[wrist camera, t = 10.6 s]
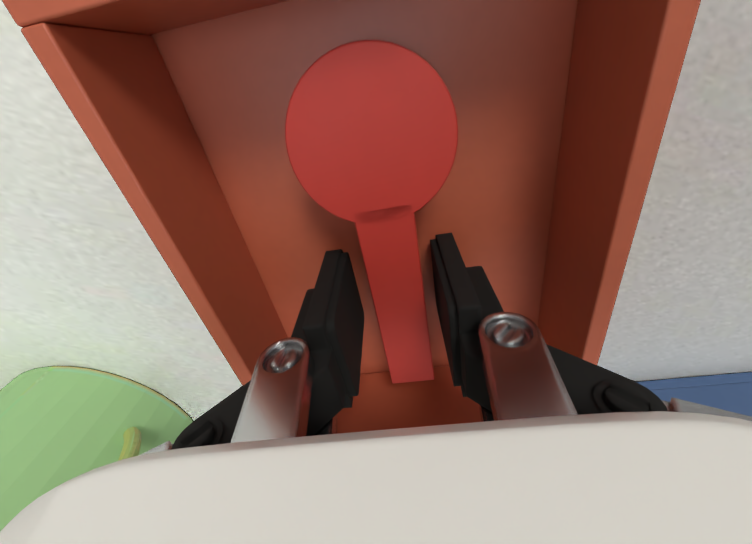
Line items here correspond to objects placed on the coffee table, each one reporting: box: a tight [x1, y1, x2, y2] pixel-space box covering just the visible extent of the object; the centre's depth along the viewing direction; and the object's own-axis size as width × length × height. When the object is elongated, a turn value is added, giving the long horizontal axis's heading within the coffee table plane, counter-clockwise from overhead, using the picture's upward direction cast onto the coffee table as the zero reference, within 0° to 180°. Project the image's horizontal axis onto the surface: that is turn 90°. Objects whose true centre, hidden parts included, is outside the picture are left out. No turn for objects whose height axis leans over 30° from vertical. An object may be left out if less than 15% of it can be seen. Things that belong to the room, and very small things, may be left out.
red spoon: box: [285, 40, 458, 383], centre depth 10 cm, size 4×10×2 cm, turn 10°
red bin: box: [2, 0, 701, 434], centre depth 10 cm, size 14×11×4 cm
